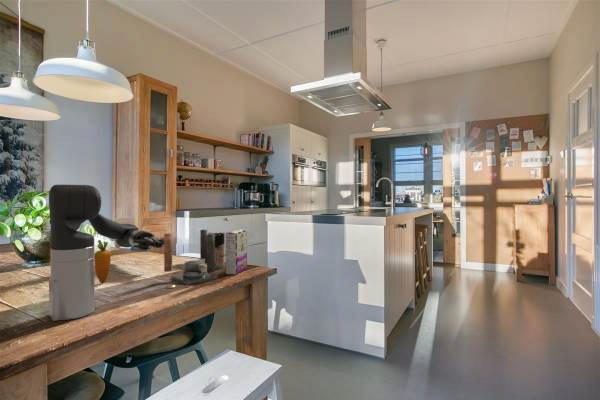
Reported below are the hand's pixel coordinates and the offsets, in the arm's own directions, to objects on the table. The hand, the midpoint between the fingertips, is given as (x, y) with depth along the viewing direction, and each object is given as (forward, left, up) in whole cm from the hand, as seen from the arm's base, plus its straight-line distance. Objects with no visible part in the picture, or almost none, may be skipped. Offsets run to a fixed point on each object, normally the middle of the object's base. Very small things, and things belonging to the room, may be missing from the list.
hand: (159, 245), depth 122 cm
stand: (+4, -13, -12) cm, 18 cm away
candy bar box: (+25, -15, -12) cm, 31 cm away
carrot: (-18, +2, -12) cm, 22 cm away
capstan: (+7, -14, -8) cm, 18 cm away
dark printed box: (+23, -3, -12) cm, 26 cm away
